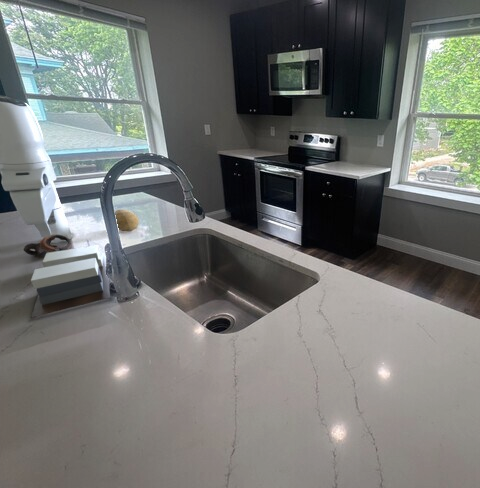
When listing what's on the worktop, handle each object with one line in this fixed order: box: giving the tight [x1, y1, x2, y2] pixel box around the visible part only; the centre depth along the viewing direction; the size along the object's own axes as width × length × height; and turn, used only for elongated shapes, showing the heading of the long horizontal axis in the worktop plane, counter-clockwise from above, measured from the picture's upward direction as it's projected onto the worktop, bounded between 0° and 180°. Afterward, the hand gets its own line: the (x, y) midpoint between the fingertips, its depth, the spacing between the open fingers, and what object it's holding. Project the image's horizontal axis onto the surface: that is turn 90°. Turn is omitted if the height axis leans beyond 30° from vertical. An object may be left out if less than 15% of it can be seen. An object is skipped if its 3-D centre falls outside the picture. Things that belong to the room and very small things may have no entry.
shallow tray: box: [30, 251, 111, 319], centre depth 88 cm, size 16×32×2 cm, turn 34°
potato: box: [114, 208, 140, 232], centre depth 123 cm, size 10×14×8 cm
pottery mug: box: [23, 235, 73, 257], centre depth 101 cm, size 12×9×8 cm
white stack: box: [41, 244, 103, 268], centre depth 93 cm, size 13×7×5 cm, turn 124°
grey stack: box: [35, 266, 103, 305], centre depth 81 cm, size 13×7×5 cm, turn 124°
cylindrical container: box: [48, 181, 73, 244], centre depth 109 cm, size 7×7×25 cm
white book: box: [30, 258, 98, 290], centre depth 80 cm, size 13×6×2 cm, turn 124°
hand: (49, 229), depth 74 cm, fingers open, 8 cm apart
